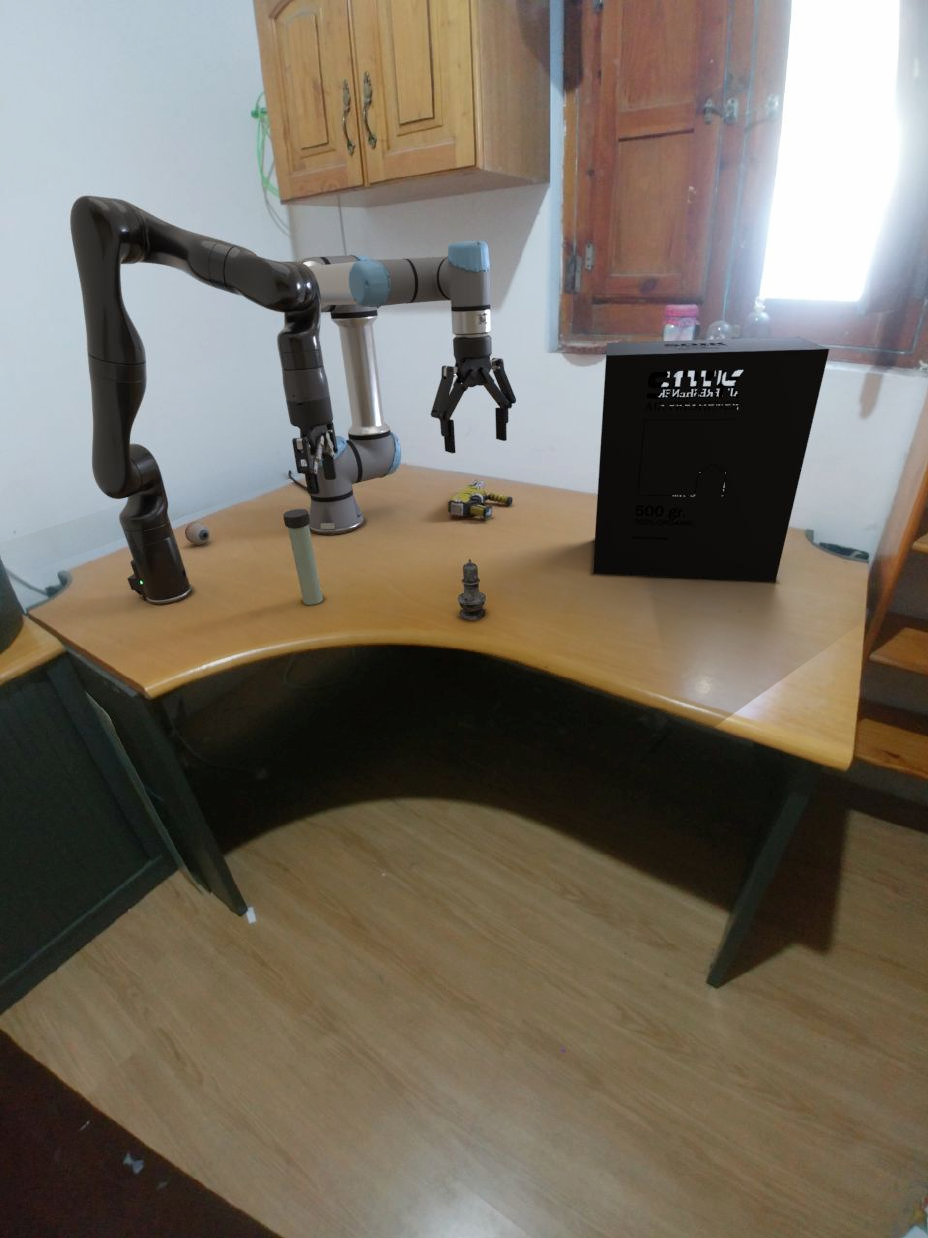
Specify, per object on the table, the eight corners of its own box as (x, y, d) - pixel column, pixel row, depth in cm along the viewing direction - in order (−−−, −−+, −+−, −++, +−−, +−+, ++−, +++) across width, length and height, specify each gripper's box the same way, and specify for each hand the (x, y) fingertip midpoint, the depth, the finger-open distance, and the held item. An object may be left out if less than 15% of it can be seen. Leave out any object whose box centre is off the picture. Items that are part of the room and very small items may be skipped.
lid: (306, 527, 120) (304, 516, 118) (282, 528, 120) (280, 517, 119) (312, 518, 124) (310, 508, 123) (288, 519, 124) (286, 509, 123)
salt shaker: (484, 621, 119) (482, 566, 113) (455, 619, 120) (451, 564, 114) (489, 607, 124) (487, 553, 118) (461, 605, 125) (458, 552, 119)
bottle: (320, 604, 129) (303, 518, 119) (301, 605, 129) (283, 519, 119) (324, 595, 132) (308, 511, 123) (306, 596, 132) (288, 512, 123)
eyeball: (198, 549, 158) (192, 528, 155) (183, 545, 161) (177, 524, 158) (217, 541, 163) (211, 520, 160) (202, 538, 166) (196, 517, 163)
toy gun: (520, 484, 182) (474, 477, 186) (498, 508, 162) (446, 499, 166) (519, 500, 184) (473, 492, 188) (497, 524, 164) (445, 516, 168)
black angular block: (755, 543, 144) (798, 336, 121) (775, 581, 127) (829, 348, 104) (594, 538, 151) (606, 342, 129) (592, 573, 134) (606, 355, 112)
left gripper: (302, 388, 111) (317, 475, 119) (269, 403, 99) (288, 499, 107) (341, 387, 110) (354, 475, 118) (312, 402, 98) (329, 499, 106)
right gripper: (429, 342, 108) (437, 460, 118) (533, 329, 120) (532, 437, 131) (407, 340, 113) (417, 454, 124) (508, 328, 125) (510, 432, 136)
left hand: (323, 486), depth 112 cm, fingers open, 8 cm apart
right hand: (476, 445), depth 127 cm, fingers open, 13 cm apart
